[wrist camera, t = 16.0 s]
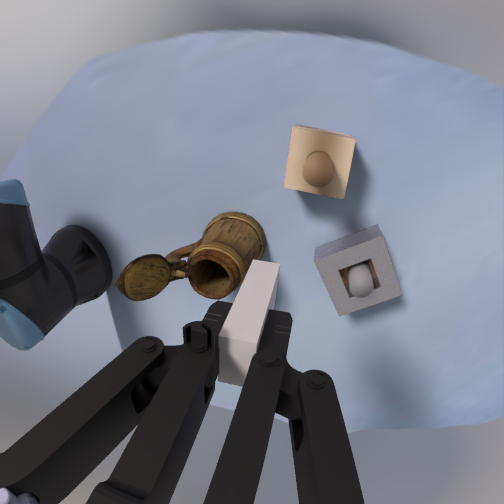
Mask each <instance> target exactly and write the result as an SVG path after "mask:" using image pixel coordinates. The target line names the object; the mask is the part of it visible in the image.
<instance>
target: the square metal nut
mask: <svg viewBox="0 0 504 504" xmlns="http://www.w3.org/2000/svg"><path fill="white" fill-rule="evenodd" d="M370 258H371V260H372V263H373V266H374V268H375V271H376V273H374V274H371V275H372V280H373V285H374V288H373V291H372V293H371V294H370V295H368V296H367V297H363V298H358V297H355V296H354V295H352V294H351V292H350V288H349V282H348V280H347V278H346V275H345V273H344V271H343V268H346V267H348V266H351V265H354V264H357V263H359V262H362V261H365V260H367V259H370ZM314 262H315V264H316V267H317V269H318V271H319V273H320V275H321V277H322V280H323V282H324V284H325V286H326V288H327V291H328V293H329V295H330V297H331V299H332V302H333V304H334V306H335V308H336V311H337V313H338V315H339V316H342V315H345V314H348V313H351V312H354V311H357V310H360V309H363V308H366V307H369V306H372V305H375V304H378V303H381V302H384V301H387V300H390V299H392V298H395V297H398V296H401V295H402V294H401V291H400V288H399V284H398V281H397V278H396V275H395V272H394V268H393V265H392V262H391V259H390V256H389V253H388V250H387V248H386V245H385V242H384V239H383V236H382V234H381V231H380V228H379V226H378V224H376V225H373V226H371V227H368V228H365V229H363V230H360V231H358V232H355V233H352V234H350V235H347V236H345V237H342V238H339V239H337V240H334V241H332V242H329V243H326V244H324V245H321V246H318V247H316V248H315V256H314Z"/></svg>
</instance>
